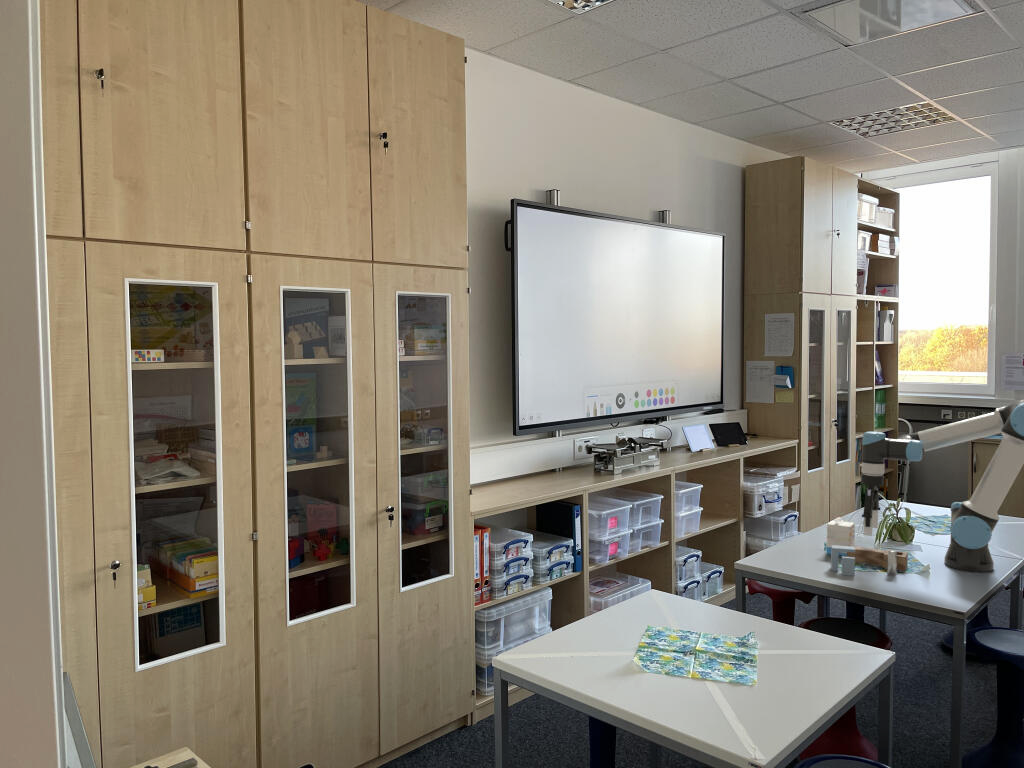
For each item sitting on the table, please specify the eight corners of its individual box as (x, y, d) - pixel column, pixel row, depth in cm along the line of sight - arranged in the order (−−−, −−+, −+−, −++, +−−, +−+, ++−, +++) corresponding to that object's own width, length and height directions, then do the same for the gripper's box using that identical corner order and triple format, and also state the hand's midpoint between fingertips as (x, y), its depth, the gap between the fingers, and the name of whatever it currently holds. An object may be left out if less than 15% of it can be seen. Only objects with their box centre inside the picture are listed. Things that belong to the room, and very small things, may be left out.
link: (907, 565, 268) (907, 552, 268) (905, 570, 263) (905, 557, 262) (849, 557, 279) (849, 544, 279) (845, 562, 274) (846, 549, 273)
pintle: (896, 573, 260) (897, 551, 259) (895, 575, 257) (896, 553, 257) (888, 572, 261) (888, 549, 261) (886, 574, 259) (887, 551, 258)
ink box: (849, 557, 280) (850, 522, 279) (826, 553, 285) (826, 519, 285) (854, 552, 287) (855, 518, 286) (832, 548, 292) (832, 515, 291)
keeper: (853, 569, 265) (854, 546, 265) (856, 575, 258) (856, 552, 257) (831, 567, 267) (831, 545, 267) (832, 573, 260) (833, 550, 260)
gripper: (866, 468, 283) (864, 523, 284) (855, 478, 262) (853, 537, 263) (888, 470, 279) (886, 525, 280) (878, 480, 258) (876, 540, 259)
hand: (870, 531), depth 272 cm, fingers open, 13 cm apart
